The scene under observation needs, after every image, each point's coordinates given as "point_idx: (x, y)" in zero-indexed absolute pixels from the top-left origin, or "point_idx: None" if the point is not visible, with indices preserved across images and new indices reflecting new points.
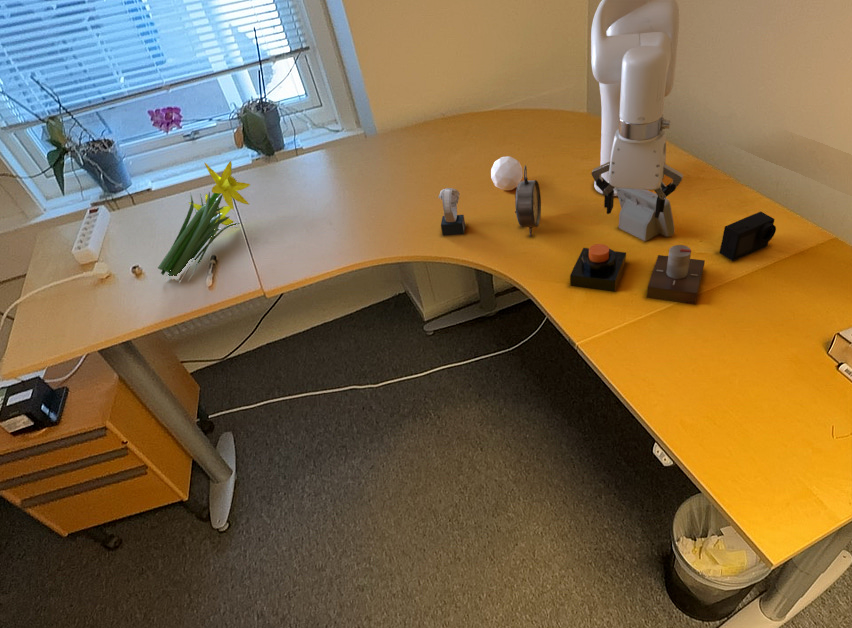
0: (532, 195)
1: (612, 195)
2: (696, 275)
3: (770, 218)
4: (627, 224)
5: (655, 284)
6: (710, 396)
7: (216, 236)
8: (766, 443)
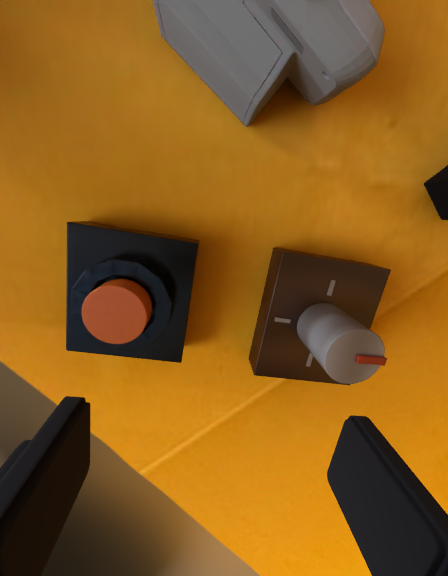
0: None
1: (25, 552)
2: None
3: None
4: (189, 50)
5: (270, 367)
6: (324, 527)
7: None
8: None
